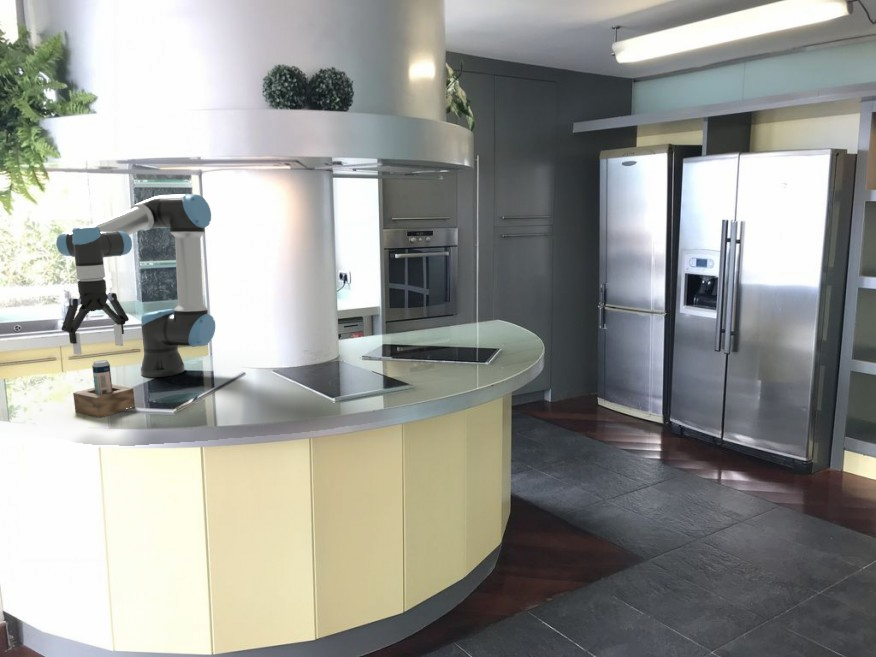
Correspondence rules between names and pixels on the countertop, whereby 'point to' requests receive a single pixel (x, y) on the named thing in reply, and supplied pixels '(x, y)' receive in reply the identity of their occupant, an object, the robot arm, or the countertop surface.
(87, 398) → the wooden box
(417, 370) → the countertop surface
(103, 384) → the beer can
